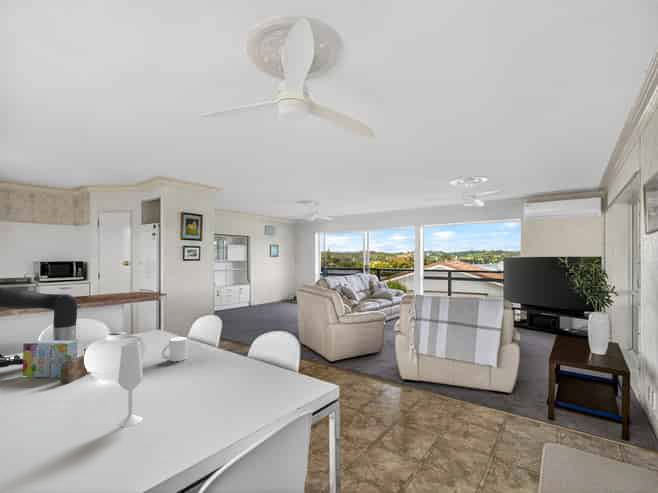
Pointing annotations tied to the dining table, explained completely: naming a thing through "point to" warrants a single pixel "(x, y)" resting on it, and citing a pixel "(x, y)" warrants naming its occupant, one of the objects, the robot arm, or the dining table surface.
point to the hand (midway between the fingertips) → (23, 361)
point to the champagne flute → (130, 378)
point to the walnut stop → (73, 369)
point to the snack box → (46, 357)
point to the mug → (176, 349)
